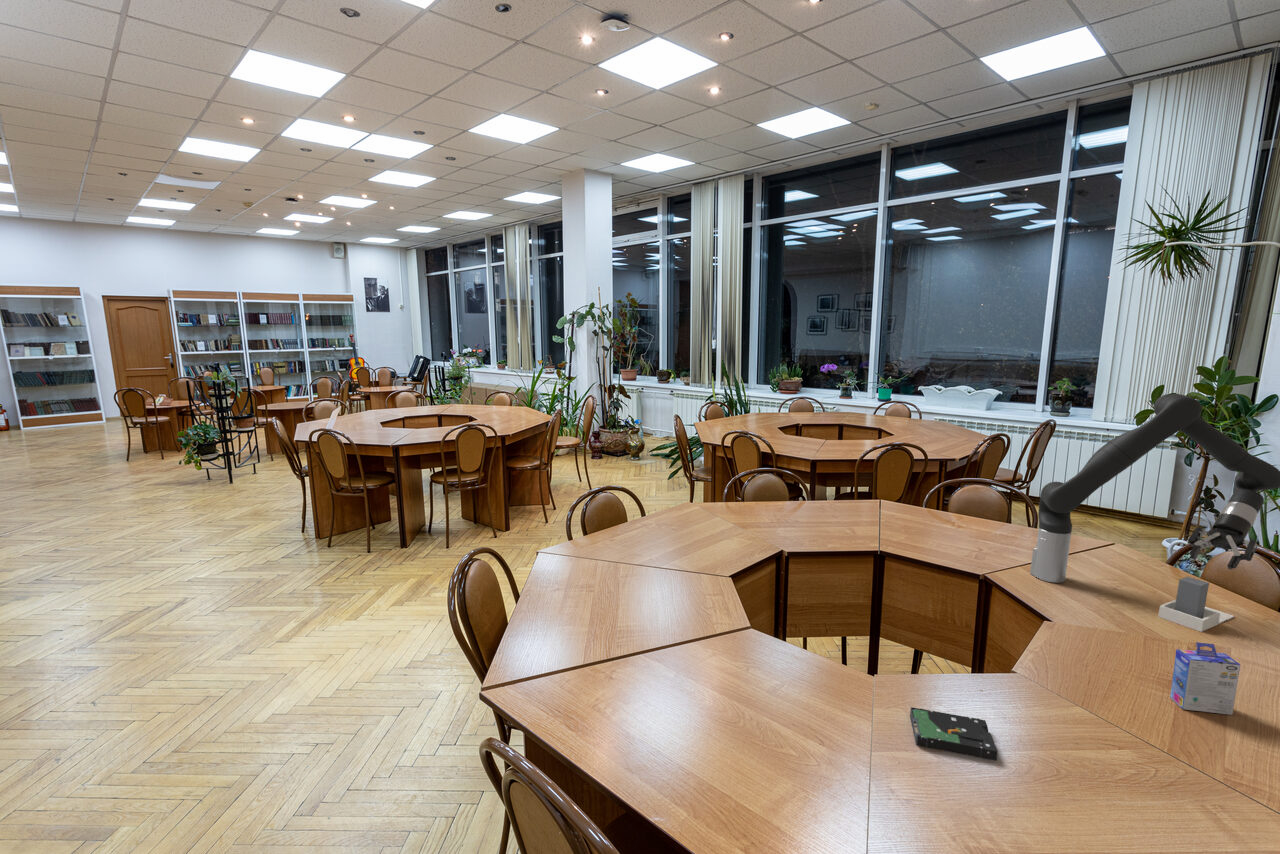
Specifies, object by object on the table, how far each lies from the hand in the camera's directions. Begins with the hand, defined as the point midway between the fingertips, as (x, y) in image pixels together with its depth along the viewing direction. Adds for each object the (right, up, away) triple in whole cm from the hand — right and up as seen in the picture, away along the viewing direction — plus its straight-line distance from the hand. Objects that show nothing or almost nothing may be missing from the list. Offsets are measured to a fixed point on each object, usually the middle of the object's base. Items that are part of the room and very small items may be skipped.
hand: (1210, 562), depth 180 cm
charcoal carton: (-8, -17, -1) cm, 18 cm away
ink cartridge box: (-42, -23, -42) cm, 63 cm away
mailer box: (-3, -16, +1) cm, 17 cm away
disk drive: (-104, -25, -53) cm, 120 cm away
